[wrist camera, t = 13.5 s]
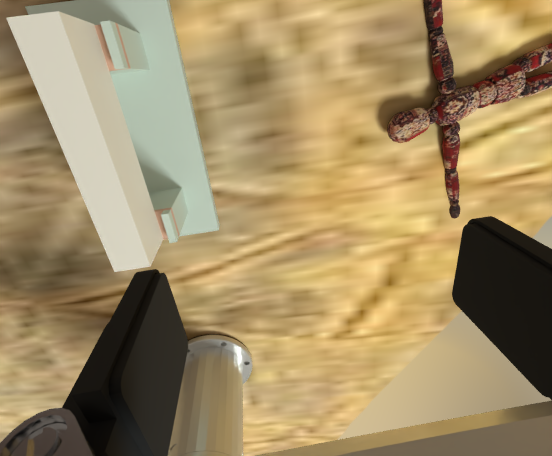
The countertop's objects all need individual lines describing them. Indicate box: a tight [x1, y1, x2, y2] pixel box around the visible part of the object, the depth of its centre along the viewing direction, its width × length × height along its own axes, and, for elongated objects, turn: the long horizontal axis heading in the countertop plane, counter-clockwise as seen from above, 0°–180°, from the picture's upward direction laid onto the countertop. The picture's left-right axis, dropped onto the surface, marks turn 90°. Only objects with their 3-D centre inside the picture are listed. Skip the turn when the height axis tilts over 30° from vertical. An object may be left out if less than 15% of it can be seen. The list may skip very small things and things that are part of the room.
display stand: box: [25, 0, 220, 243], centre depth 30 cm, size 24×12×9 cm, turn 7°
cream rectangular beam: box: [6, 11, 163, 272], centre depth 24 cm, size 18×4×5 cm, turn 7°
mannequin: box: [387, 0, 552, 218], centre depth 36 cm, size 26×29×4 cm
